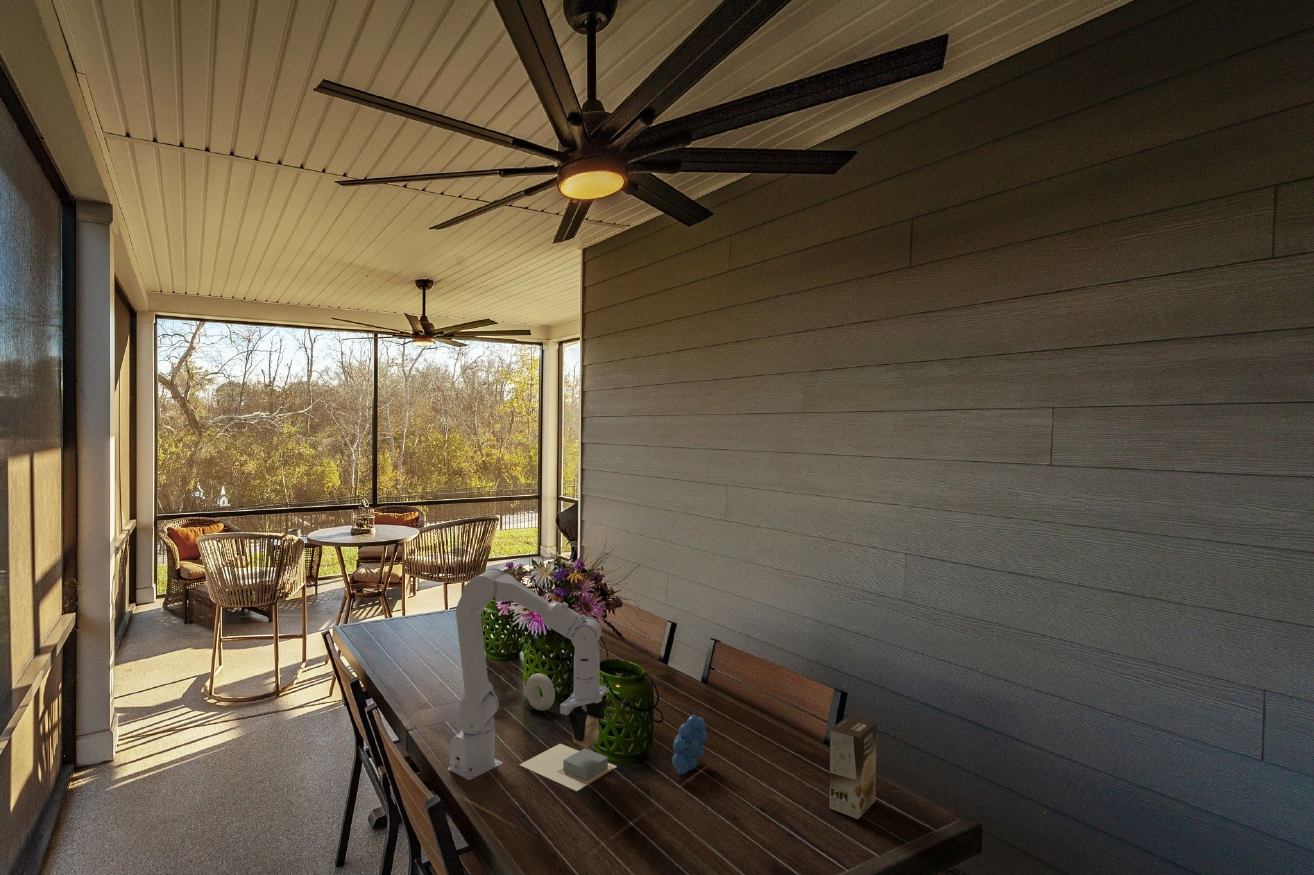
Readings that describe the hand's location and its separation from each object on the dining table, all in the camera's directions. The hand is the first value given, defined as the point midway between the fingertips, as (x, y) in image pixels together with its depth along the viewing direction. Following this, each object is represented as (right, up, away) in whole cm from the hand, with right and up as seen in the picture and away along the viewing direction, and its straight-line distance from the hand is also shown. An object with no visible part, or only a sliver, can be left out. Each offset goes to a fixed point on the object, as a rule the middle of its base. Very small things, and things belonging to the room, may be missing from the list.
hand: (586, 736), depth 142 cm
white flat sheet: (-4, -8, +2) cm, 9 cm away
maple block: (0, -1, 0) cm, 1 cm away
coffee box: (+56, -9, -12) cm, 58 cm away
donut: (-16, -9, +33) cm, 38 cm away
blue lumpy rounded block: (+23, -9, +2) cm, 24 cm away
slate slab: (0, -8, 0) cm, 8 cm away
